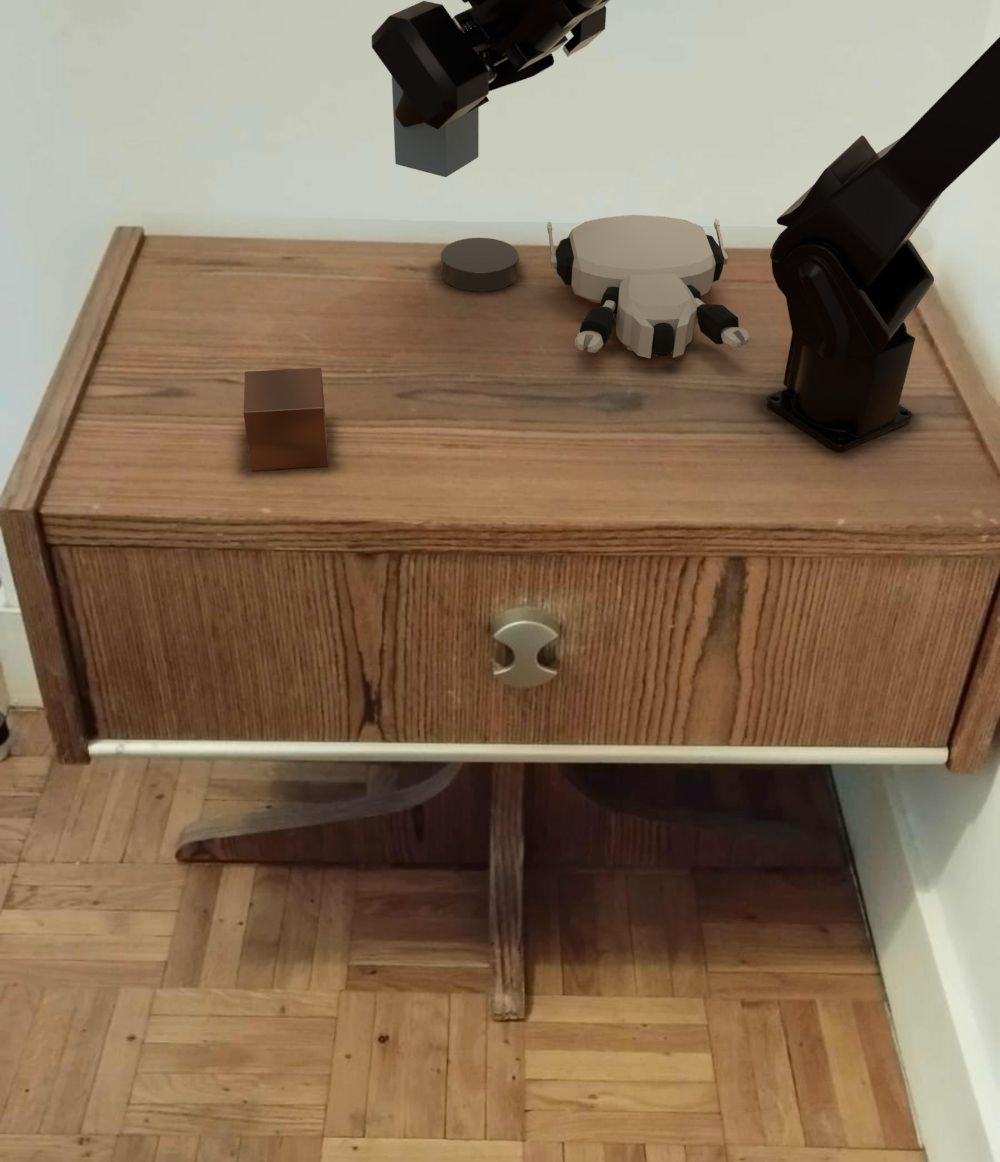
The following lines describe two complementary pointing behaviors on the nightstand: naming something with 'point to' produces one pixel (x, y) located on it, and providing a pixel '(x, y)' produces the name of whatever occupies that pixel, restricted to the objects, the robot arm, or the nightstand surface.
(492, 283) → the disc
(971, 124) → the robot arm
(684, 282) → the robot toy
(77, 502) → the nightstand surface
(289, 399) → the base block
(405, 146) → the top block
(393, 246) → the nightstand surface
